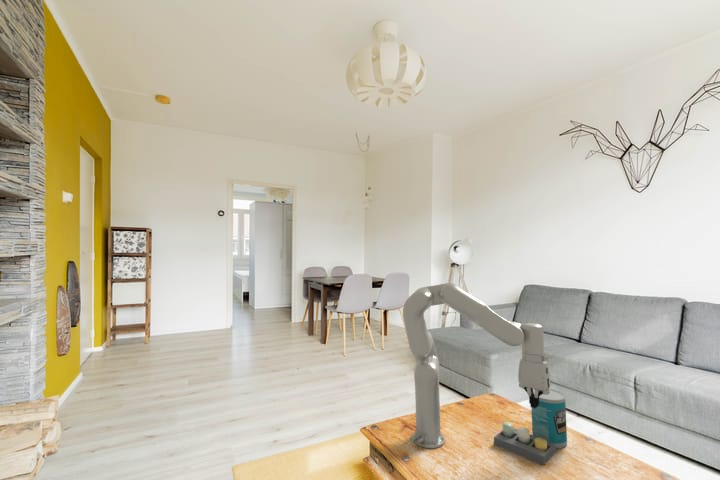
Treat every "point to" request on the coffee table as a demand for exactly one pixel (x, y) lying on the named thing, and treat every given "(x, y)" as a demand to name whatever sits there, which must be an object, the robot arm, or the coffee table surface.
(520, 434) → the key ivory
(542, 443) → the key mustard
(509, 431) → the pale green egg
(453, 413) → the coffee table surface
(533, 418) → the food can
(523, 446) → the gray compartment tray
